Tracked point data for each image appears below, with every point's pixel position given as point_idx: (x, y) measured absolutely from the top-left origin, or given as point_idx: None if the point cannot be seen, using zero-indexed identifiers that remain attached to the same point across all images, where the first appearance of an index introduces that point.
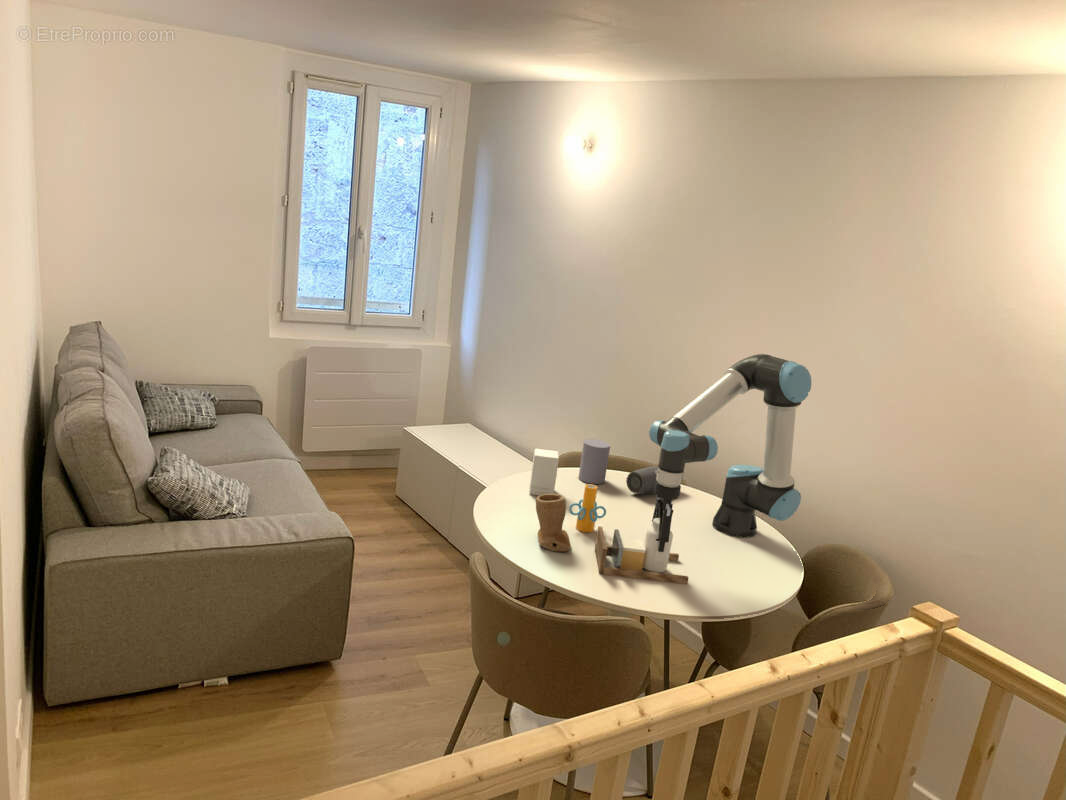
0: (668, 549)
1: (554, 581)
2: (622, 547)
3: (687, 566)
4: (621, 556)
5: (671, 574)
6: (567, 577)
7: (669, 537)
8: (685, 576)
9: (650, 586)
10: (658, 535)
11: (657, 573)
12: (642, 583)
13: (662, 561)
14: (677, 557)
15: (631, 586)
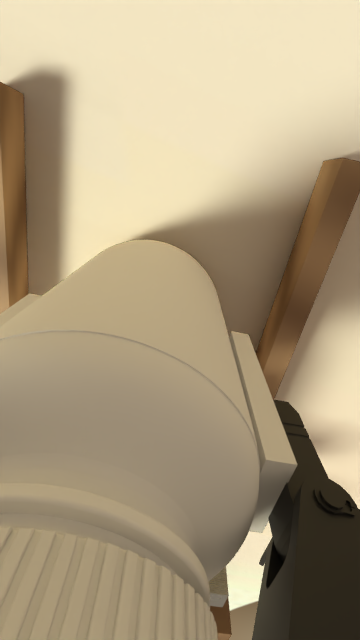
0: (221, 331)
1: (258, 600)
2: (221, 597)
3: (90, 38)
4: None
5: (304, 272)
6: (236, 576)
7: (243, 438)
8: (345, 180)
9: (332, 377)
10: (261, 590)
11: (282, 347)
12: (300, 399)
13: (247, 337)
14: (7, 96)
15: (318, 444)
